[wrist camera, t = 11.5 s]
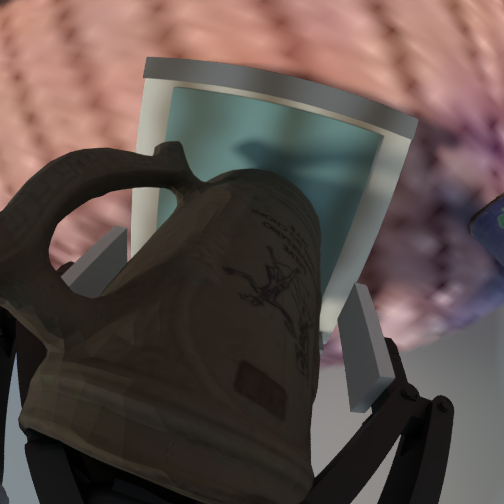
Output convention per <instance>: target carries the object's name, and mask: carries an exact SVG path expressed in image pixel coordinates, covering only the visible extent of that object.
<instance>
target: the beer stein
mask: <svg viewBox="0 0 504 504" xmlns="http://www.w3.org/2000/svg"><path fill="white" fill-rule="evenodd" d="M142 187H152V188H165V189H168V190H170V191H171V192H172V193H173V194H174V195H175V196H176V199H177V207H176V208H175V210H174V212H173V213H172V214H171V215H170V216H169V218H168V219H167V220H166V221H165V222H164V223H163V224H162V225H161V226H160V227H159V228H158V229H157V230H156V232H155V233H154V234H153V235H152V236H151V237H150V239H149V240H148V241H147V242H146V243H145V244H144V245H143V246H142V247H141V249H140V250H139V251H138V252H137V253H136V254H135V255H134V256H133V257H132V258H131V259H130V260H129V262H128V263H127V264H126V265H125V266H124V267H123V268H122V269H121V270H120V271H119V273H118V274H117V275H116V276H115V278H114V279H113V280H112V281H111V282H110V283H109V284H108V285H107V287H106V288H105V289H104V290H103V292H102V293H101V294H100V296H99V297H97V298H89V297H86V296H82V295H79V294H76V293H74V292H73V291H72V290H71V289H70V288H69V286H68V285H67V284H66V283H65V282H64V280H63V279H62V278H61V277H60V275H59V274H58V273H57V272H56V270H55V269H54V268H53V266H52V265H51V262H50V259H49V246H50V242H51V239H52V236H53V233H54V231H55V228H56V226H57V224H58V223H59V222H60V221H61V220H62V219H63V218H65V217H66V216H67V215H68V214H70V213H71V212H72V211H74V210H75V209H76V208H78V207H79V206H81V205H82V204H84V203H85V202H87V201H88V200H90V199H92V198H96V197H100V196H103V195H105V194H107V193H109V192H112V191H117V190H122V189H130V188H142ZM321 241H322V240H321V229H320V223H319V218H318V216H317V214H316V212H315V210H314V208H313V206H312V204H311V202H310V201H309V199H308V198H307V197H306V196H305V195H304V193H303V192H302V191H301V190H300V189H299V188H298V187H297V186H296V185H294V184H293V183H292V182H290V181H289V180H287V179H285V178H283V177H281V176H279V175H277V174H275V173H273V172H270V171H266V170H259V169H252V168H251V169H237V170H231V171H228V172H225V173H221V174H220V175H218V176H216V177H214V178H212V179H210V180H208V181H207V182H204V181H201V180H200V179H198V178H197V177H196V176H195V175H194V174H193V172H192V171H191V169H190V167H189V165H188V162H187V159H186V156H185V153H184V149H183V145H182V144H181V143H180V141H167V142H163V143H160V144H159V145H157V146H156V147H155V148H154V153H153V156H148V155H143V154H138V153H134V152H129V151H124V150H118V149H112V148H92V149H82V150H78V151H73V152H70V153H67V154H65V155H63V156H61V157H59V158H57V159H55V160H53V161H51V162H49V163H48V164H47V165H45V166H44V167H43V168H42V169H41V170H39V171H38V172H37V173H36V174H35V175H34V176H32V177H31V178H30V179H29V180H28V181H27V182H26V183H25V184H24V185H23V186H22V188H21V189H20V190H19V191H18V192H17V193H16V195H15V196H14V197H13V198H12V200H11V201H10V202H9V203H8V205H7V206H6V207H5V208H4V209H3V210H2V211H1V212H0V306H2V307H3V308H5V309H7V310H8V311H9V312H10V313H11V314H12V315H13V316H14V317H15V318H16V319H18V320H19V321H20V322H21V323H22V324H23V325H24V326H25V327H26V328H27V329H28V330H29V331H31V332H32V333H33V334H34V335H35V336H36V337H37V338H39V339H40V340H41V341H42V342H43V344H44V345H45V347H46V348H47V350H48V351H47V357H46V358H45V359H44V360H43V362H42V363H41V364H40V366H39V367H38V369H37V371H36V372H35V374H34V376H33V378H32V379H31V382H30V386H29V390H28V394H27V398H26V400H25V403H24V405H23V408H22V410H21V413H20V416H19V418H18V421H19V427H20V429H21V430H22V431H23V433H24V434H25V435H26V429H28V428H31V429H34V430H36V431H38V432H40V433H42V434H45V435H47V436H49V437H52V438H54V439H57V440H59V441H61V442H63V443H65V444H67V445H69V446H71V447H72V448H74V449H76V450H78V451H80V452H81V455H82V458H83V460H84V463H85V465H86V467H87V469H88V470H89V472H90V474H91V476H92V479H93V481H94V482H102V481H107V482H115V479H116V478H117V479H120V480H122V481H125V482H128V483H130V484H133V485H136V486H139V487H142V488H144V489H146V490H147V491H149V492H151V493H153V494H154V495H156V496H158V497H160V498H162V499H163V500H165V501H167V502H169V503H173V504H299V503H300V502H303V500H304V499H305V497H306V496H307V494H308V493H309V492H310V490H311V489H312V488H313V486H314V483H315V477H314V473H313V470H312V466H311V441H310V440H311V438H310V435H311V434H310V428H311V417H312V405H313V403H314V400H315V398H316V393H317V388H318V379H319V367H320V350H319V331H320V313H321V308H322V295H321V271H320V262H321V252H320V247H321ZM26 436H27V435H26Z"/></svg>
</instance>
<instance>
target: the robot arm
mask: <svg viewBox="0 0 504 504" xmlns="http://www.w3.org/2000/svg"><path fill="white" fill-rule="evenodd" d="M126 264H127V228H125V227H120V226H115V227H113V228H112V229H111V230H110V231H109V232H108V233H107V234H105V235H104V236H103V237H102V238H101V239H100V240H99V241H98V242H97V243H96V244H94V245H93V246H92V247H91V248H90V249H89V250H88V251H87V252H86V253H85V254H84V255H83V256H82V257H81V258H79V259H78V260H77V261H76V262H75V263H74V262H71V261H70V262H68V263H66V264H64V265H62V266H61V267H60V268H59V269H58V270H57V271H56V272H57V273H58V274H59V275H60V277H61V278H62V279H63V280H64V282H65V283H66V284H67V285H68V286H69V288H70V289H71V290H72V291H73V292H74V293H76V294H79V295H82V296H86V297H89V298H97V297H99V296H100V294H101V293H102V292H103V290H104V289H105V288H106V287H107V285H108V284H109V283H110V282H111V281H112V280H113V279H114V278H115V276H116V275H117V274H118V273H119V271H120V270H121V269H122V268H123V267H124V266H125V265H126ZM337 320H338V326H339V332H340V339H341V345H342V351H343V358H344V365H345V372H346V379H347V387H348V395H349V404H350V412H359V413H365V412H366V411H367V410H368V409H369V408H370V407H372V414H371V415H370V416H369V417H368V418H367V419H366V420H365V421H364V422H363V423H362V426H361V427H360V429H359V430H358V431H357V432H356V433H355V435H354V436H353V437H352V438H351V440H350V441H349V442H348V443H347V444H346V445H345V446H344V448H343V449H342V450H341V451H340V452H339V453H338V454H337V455H336V456H335V458H334V459H333V460H332V461H331V462H330V463H329V464H328V465H327V466H326V467H325V469H323V470H322V471H321V473H320V474H318V475H317V476H316V477H315V483H314V486H313V488H312V489H311V490H310V492H309V493H308V494H307V496H306V497H305V499H304V500H303V502H300V503H299V504H350V503H351V502H352V501H353V500H354V498H355V497H356V496H357V495H358V494H359V492H360V491H361V490H362V489H363V487H364V486H365V485H366V483H367V482H368V480H369V479H370V478H371V477H372V475H373V474H374V473H375V471H376V470H377V468H378V467H379V466H380V464H381V463H382V461H383V460H384V458H385V457H386V455H387V454H388V452H389V451H390V450H391V448H392V446H393V445H394V443H395V442H396V440H397V438H398V437H399V435H401V438H400V441H399V444H398V448H397V451H396V455H395V457H394V460H393V464H392V466H391V469H390V472H389V475H388V478H387V480H386V483H385V486H384V488H383V491H382V493H381V496H380V498H379V501H378V503H377V504H438V502H439V498H440V494H441V490H442V485H443V481H444V476H445V472H446V467H447V461H448V455H449V449H450V442H451V434H452V427H453V418H454V417H453V416H454V406H453V404H452V402H451V401H450V400H449V399H448V398H447V397H445V396H442V395H440V396H436V397H435V398H434V399H433V400H432V401H431V400H428V399H426V398H423V397H420V396H419V392H418V390H417V389H416V388H415V387H414V386H413V385H411V384H410V383H408V382H407V378H406V374H405V371H404V368H403V365H402V362H401V358H400V356H399V352H398V349H397V346H396V344H395V343H394V342H393V340H392V339H391V338H386V337H384V336H383V333H382V330H381V326H380V323H379V320H378V317H377V314H376V311H375V308H374V305H373V302H372V299H371V296H370V293H369V290H368V288H367V285H363V284H359V283H354V285H353V287H352V289H351V292H350V294H349V296H348V298H347V300H346V302H345V304H344V306H343V308H342V310H341V312H340V314H339V316H338V318H337ZM47 351H48V350H47V348H46V347H45V345H44V344H43V342H42V341H41V340H40V339H39V338H37V337H36V336H35V335H34V334H33V333H32V332H31V331H29V330H28V329H27V328H26V327H25V326H24V325H23V324H22V323H21V322H20V321H19V320H18V319H16V318H15V317H14V316H13V315H12V314H11V313H10V312H9V311H8V310H7V309H5V308H3V307H2V306H0V504H9V498H8V497H7V495H6V491H5V489H4V488H3V486H2V481H3V473H4V441H5V424H6V413H7V404H8V396H9V389H10V382H11V376H12V370H13V365H14V360H15V355H16V353H17V369H18V380H19V390H20V398H21V406H22V408H23V405H24V403H25V400H26V398H27V394H28V390H29V386H30V382H31V379H32V378H33V376H34V374H35V372H36V371H37V369H38V367H39V366H40V364H41V363H42V362H43V360H44V359H45V358H46V357H47ZM26 435H27V440H28V442H27V443H26V444H25V454H26V458H27V462H28V465H29V469H30V474H31V477H32V481H33V484H34V487H35V490H36V493H37V496H38V499H39V502H40V504H173V503H169V502H167V501H165V500H163V499H162V498H160V497H158V496H156V495H154V494H153V493H151V492H149V491H147V490H146V489H144V488H142V487H139V486H136V485H133V484H130V483H128V482H125V481H122V480H120V479H117V478H116V479H115V482H107V481H102V482H94V481H93V479H92V476H91V474H90V472H89V470H88V469H87V467H86V465H85V463H84V460H83V458H82V455H81V452H80V451H78V450H76V449H74V448H72V447H71V446H69V445H67V444H65V443H63V442H61V441H59V440H57V439H54V438H52V437H49V436H47V435H45V434H42V433H40V432H38V431H36V430H34V429H31V428H28V429H26Z"/></svg>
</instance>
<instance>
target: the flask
mask: <svg viewBox="0 0 504 504" xmlns="http://www.w3.org/2000/svg"><path fill="white" fill-rule="evenodd" d="M469 231H470V233H471V235H472V237H474V238H475V239H476V240H477V241H478V242H480V243H481V244H482V245H483V246H484V247H485V248H486V250H487V251H488V252H489V253H491V254H492V255H493V256H494V257H495V258H496V260H497V261H498V262H499V263H500V264H501V265H502V266H503V267H504V193H503V194H501V195H500V196H498V197H496V199H495V200H493V201H491V202H490V203H489V204H488V205H486V206H485V207H484V208H482V209H481V210H480V211H479V212H477V214H476V215H475V216H474V217H473V219H471V221H470V222H469Z"/></svg>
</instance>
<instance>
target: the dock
mask: <svg viewBox="0 0 504 504" xmlns="http://www.w3.org/2000/svg"><path fill="white" fill-rule="evenodd" d="M143 78H146V80H145V86H144V92H143V98H142V105H141V112H140V119H139V127H138V136H137V145H136V153H138V154H143V155H148V156H153V153H154V148H155V147H156V146H157V145H159V144H160V143H163V142H167V141H180V143H181V144H182V145H183V149H184V153H185V156H186V159H187V162H188V165H189V167H190V169H191V171H192V172H193V174H194V175H195V176H196V177H197V178H198V179H200V180H201V181H204V182H207V181H208V180H210V179H212V178H214V177H216V176H218V175H220V174H221V173H225V172H228V171H231V170H237V169H251V168H252V169H259V170H266V171H270V172H273V173H275V174H277V175H279V176H281V177H283V178H285V179H287V180H289V181H290V182H292V183H293V184H294V185H296V186H297V187H298V188H299V189H300V190H301V191H302V192H303V193H304V195H305V196H306V197H307V198H308V199H309V201H310V202H311V204H312V206H313V208H314V210H315V212H316V214H317V216H318V218H319V223H320V229H321V240H322V241H321V247H320V252H321V262H320V271H321V295H322V308H321V313H320V331H319V350H320V356H321V354H322V353H323V351H324V348H323V343H324V344H326V343H327V341H328V339H329V337H330V335H331V333H332V332H333V330H334V328H335V326H336V324H337V322H338V320H337V318H338V316H339V314H340V312H341V310H342V308H343V306H344V304H345V302H346V300H347V298H348V296H349V294H350V292H351V289H352V287H353V285H354V283H357V281H358V278H359V276H360V274H361V272H362V270H363V267H364V265H365V263H366V261H367V258H368V256H369V254H370V251H371V249H372V247H373V244H374V242H375V239H376V237H377V235H378V232H379V230H380V227H381V225H382V222H383V220H384V217H385V214H386V212H387V209H388V207H389V204H390V201H391V199H392V196H393V193H394V190H395V188H396V185H397V182H398V179H399V176H400V173H401V170H402V167H403V164H404V161H405V158H406V155H407V152H408V149H409V146H410V142H411V140H413V138H414V135H415V131H416V128H417V124H418V121H419V119H416V118H414V117H412V116H410V115H407V114H405V113H402V112H400V111H398V110H395V109H393V108H390V107H388V106H385V105H383V104H380V103H377V102H375V101H372V100H369V99H367V98H364V97H361V96H358V95H355V94H352V93H349V92H346V91H343V90H340V89H336V88H333V87H330V86H326V85H323V84H320V83H316V82H312V81H309V80H305V79H301V78H297V77H293V76H289V75H284V74H280V73H275V72H270V71H266V70H260V69H255V68H250V67H244V66H238V65H231V64H224V63H217V62H209V61H200V60H190V59H177V58H160V57H147V59H146V64H145V69H144V74H143ZM176 207H177V199H176V196H175V195H174V194H173V193H172V192H171V191H170V190H168V189H165V188H152V187H142V188H133V197H132V224H131V258H132V257H133V256H134V255H135V254H136V253H137V252H138V251H139V250H140V249H141V247H142V246H143V245H144V244H145V243H146V242H147V241H148V240H149V239H150V237H151V236H152V235H153V234H154V233H155V232H156V230H157V229H158V228H159V227H160V226H161V225H162V224H163V223H164V222H165V221H166V220H167V219H168V218H169V216H170V215H171V214H172V213H173V212H174V210H175V208H176Z"/></svg>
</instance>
